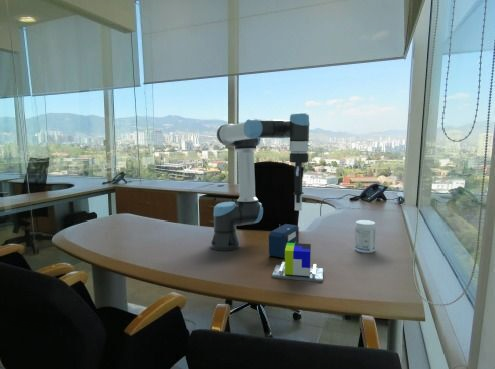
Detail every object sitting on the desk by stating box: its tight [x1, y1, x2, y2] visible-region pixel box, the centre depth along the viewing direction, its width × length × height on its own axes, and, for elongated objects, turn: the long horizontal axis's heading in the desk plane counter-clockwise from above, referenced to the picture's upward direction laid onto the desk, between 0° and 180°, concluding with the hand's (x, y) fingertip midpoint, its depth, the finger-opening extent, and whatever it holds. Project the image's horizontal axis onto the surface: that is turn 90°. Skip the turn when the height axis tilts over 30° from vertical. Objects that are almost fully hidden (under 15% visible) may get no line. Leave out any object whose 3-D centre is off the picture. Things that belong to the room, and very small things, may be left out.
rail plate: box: [271, 261, 324, 283], centre depth 132 cm, size 20×11×3 cm, turn 76°
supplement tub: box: [354, 219, 377, 254], centre depth 159 cm, size 10×10×15 cm
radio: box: [268, 223, 300, 259], centre depth 158 cm, size 21×9×20 cm, turn 148°
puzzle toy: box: [284, 242, 312, 276], centre depth 131 cm, size 10×10×10 cm
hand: (298, 210), depth 130 cm, fingers closed
